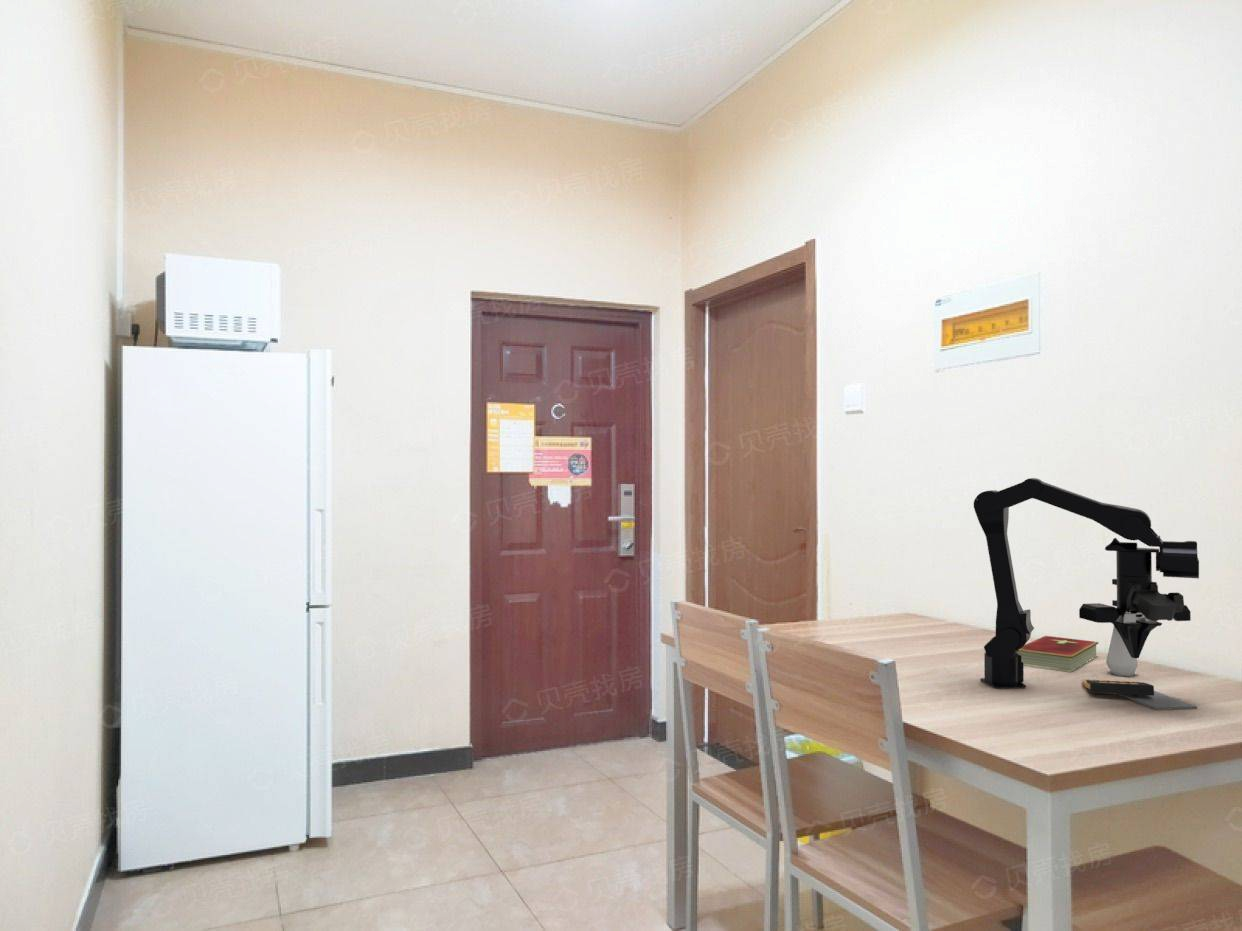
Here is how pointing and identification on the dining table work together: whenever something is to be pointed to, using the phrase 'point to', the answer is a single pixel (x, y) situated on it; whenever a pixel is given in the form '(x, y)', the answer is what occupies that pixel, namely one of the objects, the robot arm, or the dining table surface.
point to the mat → (1159, 701)
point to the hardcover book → (1057, 653)
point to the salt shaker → (1120, 657)
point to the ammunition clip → (1118, 687)
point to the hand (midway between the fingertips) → (1134, 657)
